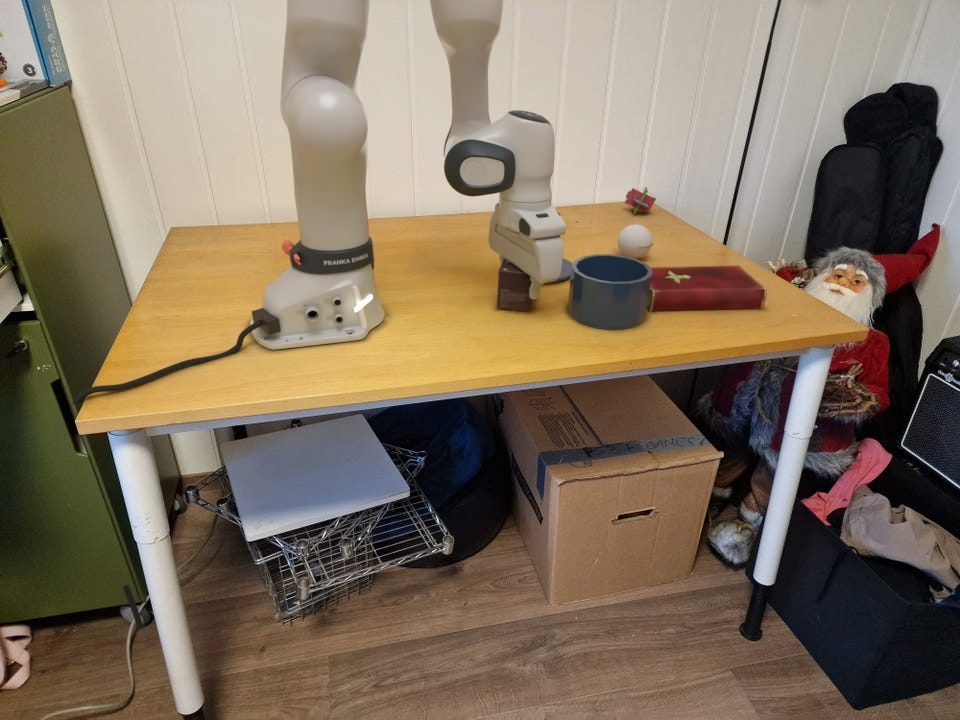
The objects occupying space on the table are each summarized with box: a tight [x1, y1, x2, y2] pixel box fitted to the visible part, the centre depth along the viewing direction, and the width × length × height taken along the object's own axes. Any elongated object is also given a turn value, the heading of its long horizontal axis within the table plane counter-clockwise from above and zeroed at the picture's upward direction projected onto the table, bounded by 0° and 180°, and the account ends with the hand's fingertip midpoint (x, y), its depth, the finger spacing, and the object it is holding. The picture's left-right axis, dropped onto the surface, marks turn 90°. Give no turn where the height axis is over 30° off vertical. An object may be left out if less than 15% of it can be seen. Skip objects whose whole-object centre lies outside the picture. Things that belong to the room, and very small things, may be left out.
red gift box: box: [624, 186, 657, 216], centre depth 167 cm, size 7×7×8 cm
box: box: [496, 260, 534, 312], centre depth 116 cm, size 6×6×7 cm
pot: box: [567, 253, 653, 331], centre depth 114 cm, size 14×14×8 cm
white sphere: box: [616, 223, 656, 260], centre depth 139 cm, size 10×7×7 cm
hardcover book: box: [647, 264, 768, 313], centre depth 121 cm, size 12×21×4 cm, turn 94°
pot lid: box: [552, 257, 574, 283], centre depth 131 cm, size 15×15×5 cm
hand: (520, 287), depth 117 cm, fingers closed on box, 8 cm apart
